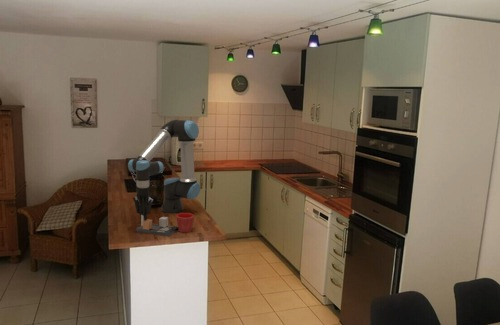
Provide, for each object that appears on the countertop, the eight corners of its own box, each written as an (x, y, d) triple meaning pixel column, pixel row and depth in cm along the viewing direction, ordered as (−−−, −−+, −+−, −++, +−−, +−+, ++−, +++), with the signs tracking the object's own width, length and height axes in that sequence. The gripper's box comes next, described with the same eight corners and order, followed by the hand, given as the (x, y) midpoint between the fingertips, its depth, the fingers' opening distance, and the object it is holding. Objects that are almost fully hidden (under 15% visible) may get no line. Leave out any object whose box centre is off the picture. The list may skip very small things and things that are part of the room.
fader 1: (146, 227, 254) (146, 219, 253) (152, 227, 253) (152, 219, 252) (142, 229, 250) (142, 220, 249) (148, 229, 249) (148, 221, 248)
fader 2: (162, 224, 259) (162, 216, 259) (168, 225, 258) (168, 217, 257) (159, 226, 256) (159, 218, 255) (165, 227, 254) (164, 219, 254)
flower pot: (194, 227, 262) (194, 212, 260) (192, 233, 251) (193, 218, 249) (177, 227, 261) (177, 212, 260) (175, 233, 251) (175, 217, 249)
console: (146, 225, 263) (146, 222, 263) (178, 230, 256) (178, 227, 256) (136, 231, 252) (136, 228, 251) (168, 236, 245) (168, 233, 245)
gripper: (129, 187, 246) (130, 225, 250) (149, 189, 242) (149, 228, 246) (137, 184, 253) (137, 221, 257) (156, 186, 249) (156, 224, 253)
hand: (143, 225), depth 252 cm, fingers closed
